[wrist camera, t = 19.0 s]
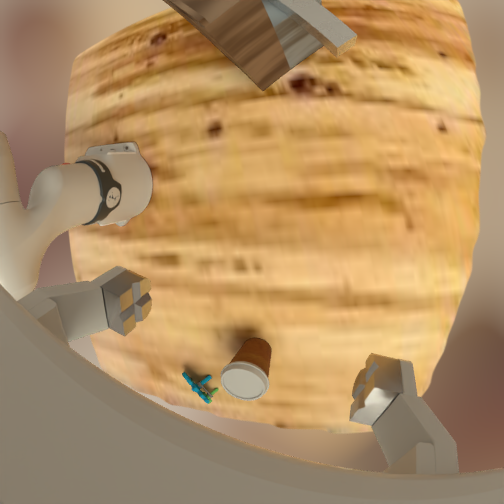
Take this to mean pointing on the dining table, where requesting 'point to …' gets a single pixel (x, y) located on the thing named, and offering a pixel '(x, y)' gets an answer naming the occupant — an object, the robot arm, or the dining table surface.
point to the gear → (199, 385)
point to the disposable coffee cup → (248, 371)
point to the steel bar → (319, 24)
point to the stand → (251, 35)
